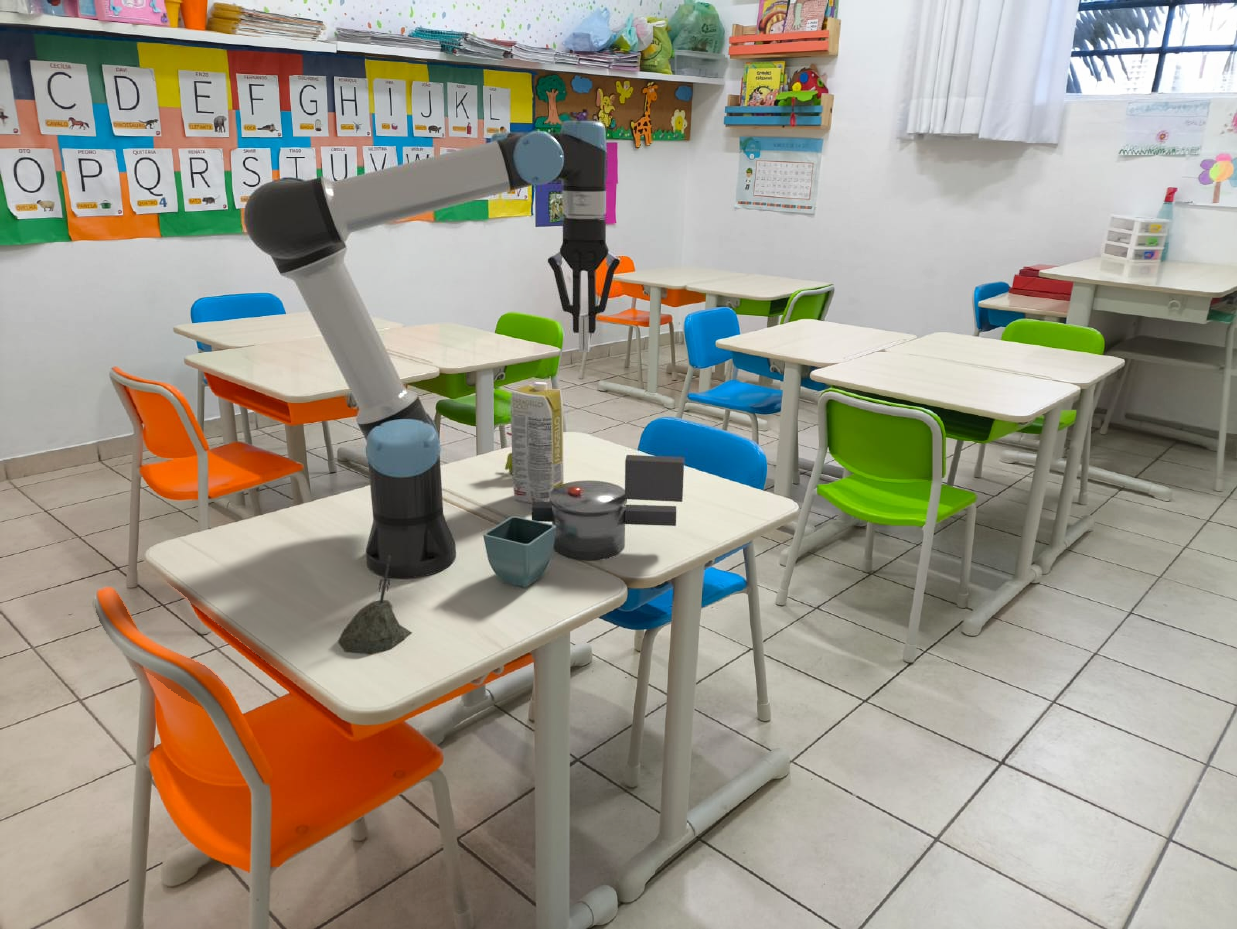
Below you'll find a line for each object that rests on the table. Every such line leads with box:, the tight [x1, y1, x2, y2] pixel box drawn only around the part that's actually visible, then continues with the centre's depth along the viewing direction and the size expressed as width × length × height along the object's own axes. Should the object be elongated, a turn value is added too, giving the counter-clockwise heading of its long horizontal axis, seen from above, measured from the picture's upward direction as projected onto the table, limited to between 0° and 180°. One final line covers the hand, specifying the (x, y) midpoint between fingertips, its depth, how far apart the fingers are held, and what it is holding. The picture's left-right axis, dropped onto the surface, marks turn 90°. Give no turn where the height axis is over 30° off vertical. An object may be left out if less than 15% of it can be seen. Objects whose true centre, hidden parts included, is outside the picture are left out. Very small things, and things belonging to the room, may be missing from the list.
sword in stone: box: [337, 556, 413, 655], centre depth 125 cm, size 10×8×12 cm
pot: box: [531, 502, 677, 562], centre depth 156 cm, size 26×13×8 cm, turn 87°
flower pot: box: [482, 515, 556, 588], centre depth 143 cm, size 9×9×9 cm
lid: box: [550, 454, 685, 515], centre depth 152 cm, size 23×14×8 cm, turn 84°
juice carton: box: [510, 381, 565, 505], centre depth 173 cm, size 9×8×24 cm
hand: (584, 350), depth 159 cm, fingers closed
